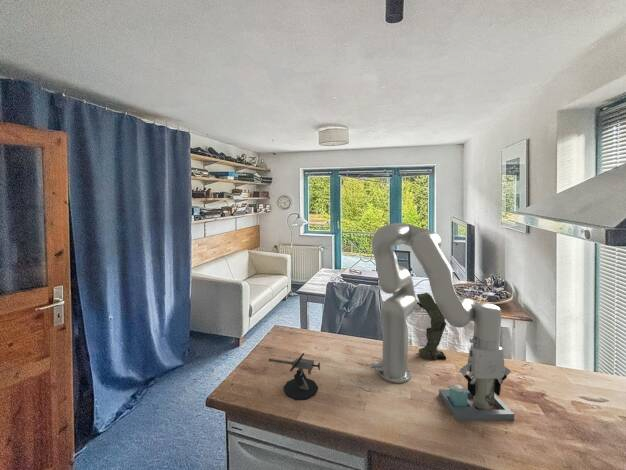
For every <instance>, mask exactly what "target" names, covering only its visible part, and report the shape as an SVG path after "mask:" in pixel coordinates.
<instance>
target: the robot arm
mask: <svg viewBox="0 0 626 470" xmlns="http://www.w3.org/2000/svg"><path fill="white" fill-rule="evenodd" d="M399 245H405V246H408V247H410V249H411V250H412V253H413V254H414V256H415V258H416V259H417V261H418V263H419V265H420V266H421V268H422V270H423V272H424V273H425V275H426V276H427V278H428V282H429V286H430V289H431V293H432V296H433V297H432V298H433V300H434V302H435V303H436V304H437V306H438V308H439V309H440V311H441V313H442V315H443V316H444V318H445V320H446V321H445V322H446V323H448V324H450V326H452V327H454V328H458V329H459V328H464V327H466V326H468V325H469V324H470V323H471V322H473V334H472V335H473V336H472V338H469V343H470V344H471V345H470V347H469V352H468V357H467V363H466V364H465V365H464V366H462V367H461V368H460V369H459V373H460V374H461V375H462V376H463V378H464V379H465V380H467V389H468V391H469V392H470V393H471V394H472V395H473V396H475V391H476V385H475V384H474V383H475V381H476V379H495V388H494V394H495V395H496V396H500V395H501V390H502V389H501V388H502V386H501V385H503V383H504V380H506V379H507V376H509V374H510V373H512V372H511V369H509V368H508V367H506V366H505V357H504V356H505V355H504V351H503V347H501V346H500V345H501V330H502V312H503V311H502V309H501V308H500V307H499V306H497V305H496V304H492V303H487V302H479V301H476V300H473V299H470V298H467V297H460V298H459V296H458V294H457V292H456V290H455V288H454V283H453V270H452V266H451V264H450V263H449V261H448V260H447V258H446V257H445V255H444V253H443V252H442V249H440V248H441V246H442V239H441V237H440V235H439V234H437V233H436V232H435V231H432V230H431V229H430V230H429V229H426V228H422V227H420V226H416V225H413V224H411V223H406V222H396V223H395V222H394V223H388V224H386V225H383V226H381V227H380V228H379V229H377V230H376V231H375V233H374V234H373V236H372V240H371V248H372V253H373V258H374V262H375V268H376V273H377V278H378V282H379V283H378V284H379V287H380V289H381V290H382V292H384V293H386V294H390V295H391V294H392V295H391V296H390V297H388V298H386V300H384V301H383V303H382V305H381V309H380V313H381V321H382V359H380V360H379V361H380V362H378V363H375V362H373V363H372V362H370V364H369V365H370V366H369V367H370V369H371V370H373V369H374V370H375V372H378V375H379V377H380V378H382V379H383V380H385V381H387V382H390V383H394V384H401V383H403V384H404V383H406V382H408V381H410V380H411V378H412V372H411V370H410V369H409V368H408V346H409V340H408V339H409V330H408V329H409V328H408V323H407V318H408V317H409V316H410V315H411V314H412V313H414V312H415V310H416V309H417V298H416V297H417V295H416V292H415V288H414V281H413V278H412V275H411V273H410V271H409V269H408V268H406V267H405V266H403V265H399V261H398V256H397V254H396V252H395V249H394V247H395V246H399ZM467 372H468V374H467Z"/></svg>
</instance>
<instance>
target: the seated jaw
mask: <svg viewBox="0 0 626 470" xmlns="http://www.w3.org/2000/svg"><path fill="white" fill-rule="evenodd" d="M449 389H450V393H449V401H450V402H451V404H452V405H453V406H454V407H467V398H468V394H467V392H466V391H465V390H464V389H465V387H464V386H463V385H460V384H454V385H453V386H449ZM468 399H469V398H468Z"/></svg>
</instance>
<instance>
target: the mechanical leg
mask: <svg viewBox="0 0 626 470" xmlns="http://www.w3.org/2000/svg"><path fill="white" fill-rule="evenodd" d="M432 296H433V295H431V293H428V292H424V293H418V294H416V297H417V299H418V301H416V305H417V306H418V307H419V308H421V309H423V310H424V311H426V314H427V315H428V316H429V318H430V319H431V320H430V327H427V328H426V329H425V330H426V331H425V332H426V333H425V334H426V335H425V336H426V337H425V338H426V339H427V340H426V341H427V342H426V344H425V345H424V346H423V347H421V348H418V353H419V355H420V358H421V359H424V360H425V359H426V360H436V361H437V360H438V361H439V360H447V355H445V353H444V352H443V351H441V350H439V349H438V347H439V345H440V343H441V340H442V337H443V334H444V331H445V329H446V327H447V321H445V320H446V319H445V318H444V316H443V315H442V313H441V311H440V309H439V308H438V306H437V304H436V302H435V300H434V297H432Z"/></svg>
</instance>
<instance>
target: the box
mask: <svg viewBox="0 0 626 470" xmlns="http://www.w3.org/2000/svg"><path fill="white" fill-rule="evenodd" d="M474 384H475V385H476V391H475V396H474V397H473V398H472V404H473V405H474V407H475V408H476V409H478V410H493V408H494V405H495V404H494V394H495V392H494V388H495V379H476V381H475V383H474Z"/></svg>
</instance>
